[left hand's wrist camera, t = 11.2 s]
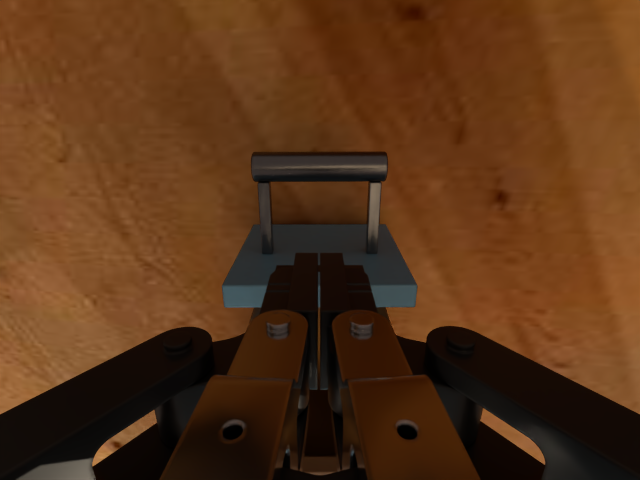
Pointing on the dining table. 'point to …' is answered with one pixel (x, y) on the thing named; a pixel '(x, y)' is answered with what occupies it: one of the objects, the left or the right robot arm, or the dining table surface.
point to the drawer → (319, 251)
